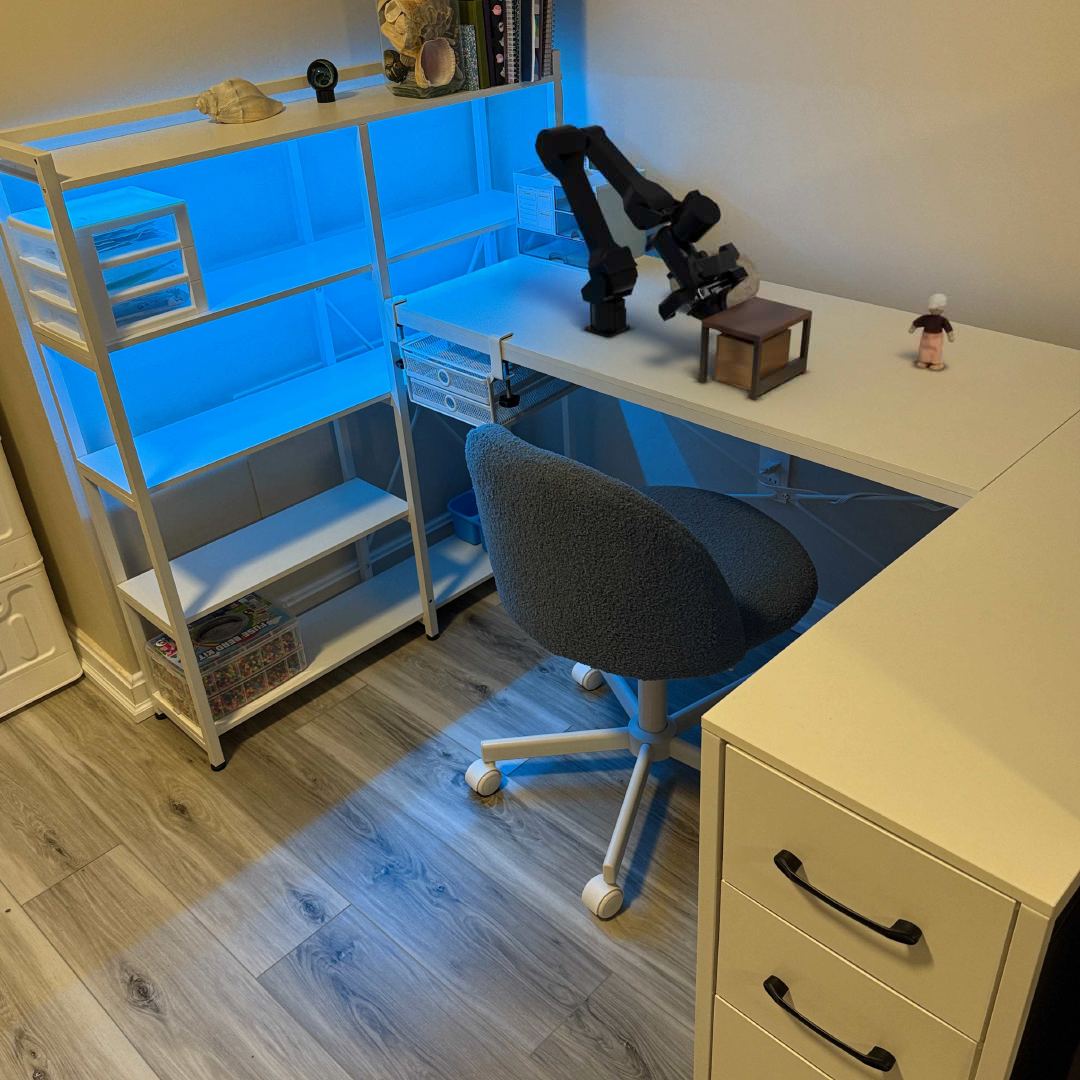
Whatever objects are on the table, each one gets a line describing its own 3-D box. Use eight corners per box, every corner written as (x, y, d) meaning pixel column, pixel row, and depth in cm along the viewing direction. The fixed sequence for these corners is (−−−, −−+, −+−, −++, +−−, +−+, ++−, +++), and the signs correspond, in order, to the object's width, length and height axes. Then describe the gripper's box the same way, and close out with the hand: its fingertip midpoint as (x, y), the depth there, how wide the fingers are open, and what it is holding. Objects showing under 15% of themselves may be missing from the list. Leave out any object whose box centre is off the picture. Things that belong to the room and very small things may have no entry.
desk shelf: (698, 382, 178) (701, 320, 172) (750, 355, 187) (755, 296, 181) (754, 400, 171) (759, 336, 165) (806, 372, 180) (812, 310, 174)
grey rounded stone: (653, 310, 208) (654, 261, 203) (691, 284, 220) (693, 237, 215) (737, 325, 200) (741, 273, 194) (771, 296, 212) (775, 247, 207)
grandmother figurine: (951, 364, 180) (964, 292, 173) (948, 372, 177) (961, 300, 170) (904, 358, 183) (915, 288, 176) (901, 366, 180) (912, 295, 173)
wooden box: (714, 379, 178) (716, 335, 174) (748, 362, 184) (752, 318, 180) (753, 392, 174) (756, 346, 169) (787, 373, 179) (791, 329, 175)
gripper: (674, 243, 167) (726, 325, 167) (743, 218, 178) (792, 294, 177) (636, 281, 176) (685, 359, 176) (704, 254, 187) (750, 327, 186)
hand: (729, 334), depth 179 cm, fingers closed
